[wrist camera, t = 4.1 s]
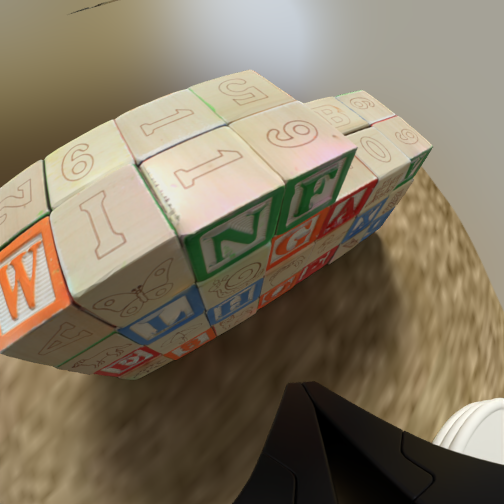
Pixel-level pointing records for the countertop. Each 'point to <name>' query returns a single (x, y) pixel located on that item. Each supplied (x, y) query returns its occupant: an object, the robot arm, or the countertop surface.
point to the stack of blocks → (190, 219)
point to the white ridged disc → (476, 431)
